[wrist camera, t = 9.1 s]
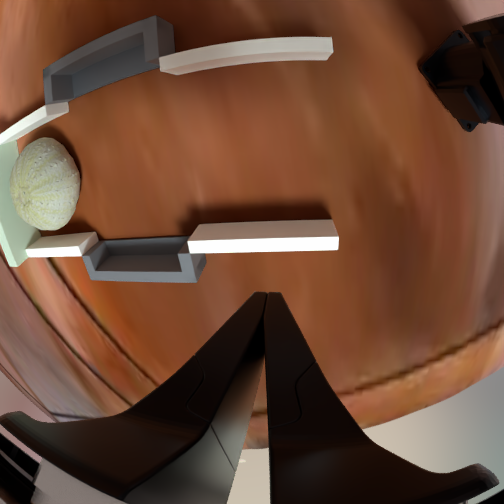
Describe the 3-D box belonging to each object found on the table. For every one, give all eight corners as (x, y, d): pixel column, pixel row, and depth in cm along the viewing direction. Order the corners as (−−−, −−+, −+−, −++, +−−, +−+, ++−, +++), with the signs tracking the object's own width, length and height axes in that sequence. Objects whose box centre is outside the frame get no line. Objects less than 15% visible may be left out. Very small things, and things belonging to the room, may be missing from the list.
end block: (15, 131, 19) (-19, 142, 15) (44, 244, 26) (17, 266, 21) (7, 136, 19) (-25, 148, 15) (35, 245, 26) (9, 266, 22)
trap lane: (319, 7, 13) (324, -8, 10) (330, 260, 22) (335, 280, 20) (12, 104, 17) (-8, 108, 15) (51, 263, 27) (37, 276, 24)
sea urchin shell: (7, 154, 18) (-11, 156, 13) (70, 130, 22) (72, 124, 17) (26, 232, 23) (18, 257, 17) (85, 208, 27) (93, 226, 21)
